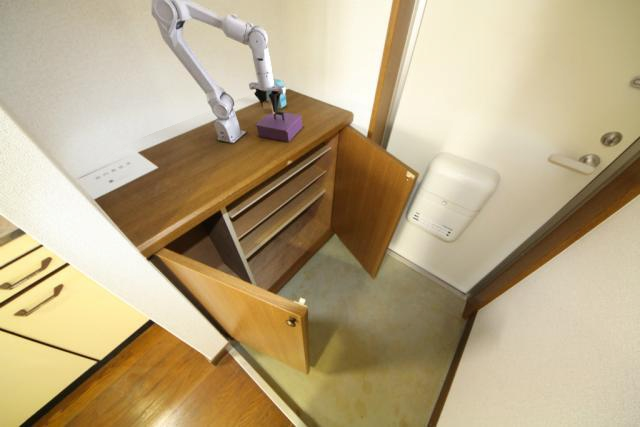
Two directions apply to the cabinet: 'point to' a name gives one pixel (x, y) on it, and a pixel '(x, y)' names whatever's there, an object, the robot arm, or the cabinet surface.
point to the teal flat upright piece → (282, 97)
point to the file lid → (279, 121)
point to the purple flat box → (280, 132)
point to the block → (268, 107)
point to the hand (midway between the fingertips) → (271, 110)
